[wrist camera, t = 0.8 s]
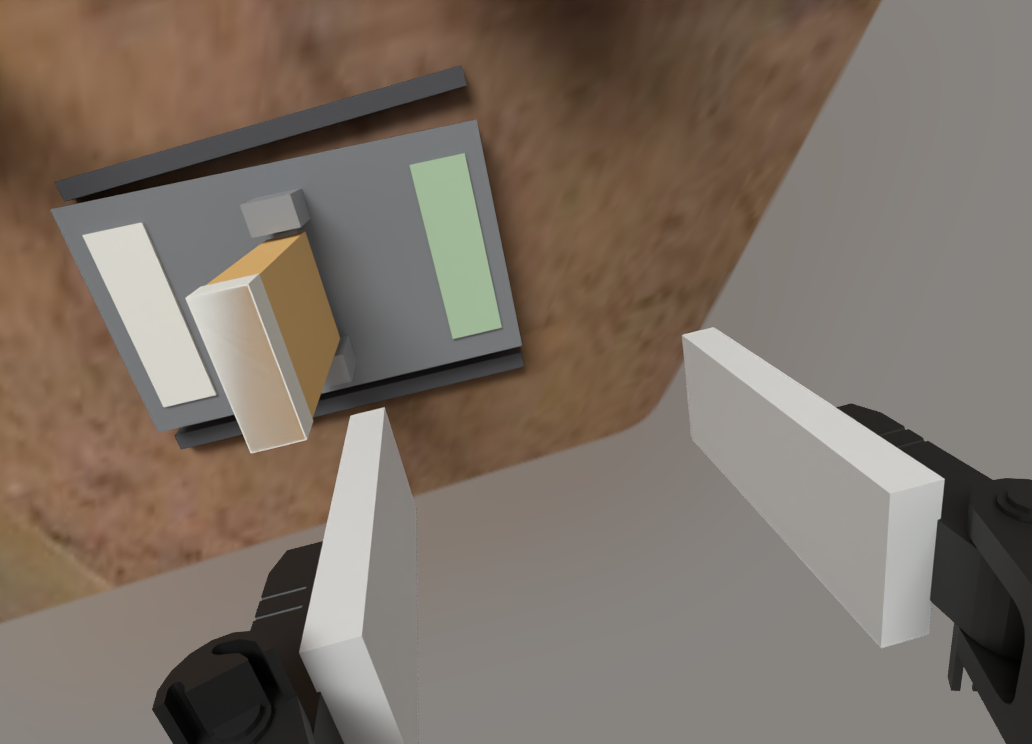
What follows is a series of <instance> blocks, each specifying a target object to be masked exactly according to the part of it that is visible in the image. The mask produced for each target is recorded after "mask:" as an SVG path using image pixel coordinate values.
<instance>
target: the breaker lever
mask: <svg viewBox="0 0 1032 744" xmlns="http://www.w3.org/2000/svg"><path fill="white" fill-rule="evenodd" d="M273 237H274V238H271V239H267V240H265V241H264V242H263V243H261V244H260V245H259V246H257V247H256V248H255V249H253V250H252V251H251V252H249V253H248V254H247V255H245V256H244V257H243V258H241V259H240V260H239V261H237V262H236V263H235V264H233V265H232V266H231V267H229V268H228V269H227V270H225V271H224V272H223V273H221V274H220V275H219V276H217V277H216V278H215V279H213V280H212V281H211V282H209V283H208V284H207V285H205V286H201V287H199V288H198V289H197V290H195V291H194V292H193V293H191V294H190V295H189V296H187V297H186V298H185V299H186V301H187V303H188V306H189V308H190V311H191V313H192V315H193V318H194V320H195V322H196V325H197V327H198V330H199V332H200V334H201V337H202V339H203V341H204V344H205V346H206V348H207V351H208V353H209V356H210V358H211V360H212V363H213V365H214V367H215V370H216V372H217V374H218V377H219V379H220V382H221V384H222V386H223V389H224V391H225V393H226V396H227V398H228V400H229V403H230V405H231V408H232V410H233V412H234V415H235V417H236V419H237V422H238V424H239V426H240V429H241V431H242V434H243V436H244V438H245V441H246V443H247V445H248V448H249V450H250V453H255V452H259V451H263V450H267V449H271V448H276V447H280V446H284V445H288V444H292V443H296V442H300V441H304V440H307V438H308V435H309V433H310V430H311V427H312V424H313V419H312V418H313V415H314V412H315V410H316V407H317V404H318V401H319V398H320V395H321V392H322V389H323V386H324V384H325V381H326V378H327V375H328V372H329V369H330V366H331V363H332V361H333V358H334V355H335V352H336V349H337V346H338V343H339V340H340V336H339V333H338V330H337V327H336V324H335V321H334V318H333V315H332V312H331V308H330V305H329V302H328V299H327V296H326V293H325V290H324V287H323V284H322V281H321V278H320V275H319V272H318V269H317V266H316V263H315V260H314V257H313V253H312V250H311V247H310V244H309V241H308V238H307V235H306V232H305V231H303V232H297V229H291V230H286V231H282V232H277V233H274V234H273Z"/></svg>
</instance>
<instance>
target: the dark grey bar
mask: <svg viewBox="0 0 1032 744" xmlns="http://www.w3.org/2000/svg"><path fill="white" fill-rule="evenodd" d="M465 86H467V84H466V80H465V76H464V72H463V69H462V65H460V66H457V67H453V68H450V69H446V70H443V71H440V72H436V73H433V74H429V75H426V76H422V77H419V78H415V79H412V80H408V81H405V82H401V83H398V84H394V85H391V86H387V87H384V88H380V89H377V90H373V91H370V92H366V93H363V94H359V95H356V96H352V97H349V98H345V99H342V100H338V101H335V102H332V103H328V104H325V105H321V106H318V107H314V108H311V109H307V110H304V111H300V112H297V113H293V114H290V115H286V116H283V117H279V118H276V119H272V120H269V121H265V122H262V123H258V124H255V125H251V126H248V127H244V128H241V129H237V130H234V131H231V132H227V133H224V134H220V135H217V136H213V137H210V138H206V139H203V140H199V141H196V142H192V143H189V144H185V145H182V146H178V147H175V148H171V149H168V150H164V151H161V152H157V153H154V154H150V155H147V156H143V157H140V158H136V159H133V160H130V161H126V162H123V163H119V164H116V165H112V166H109V167H105V168H102V169H98V170H95V171H91V172H88V173H84V174H81V175H77V176H74V177H70V178H67V179H63V180H60V181H56V182H54V183H55V185H56V187H57V188H58V190H59V192H60V194H61V196H62V197H63V199H64V201H69V200H74V199H77V198H81V197H84V196H88V195H91V194H95V193H98V192H102V191H105V190H108V189H112V188H115V187H119V186H122V185H126V184H129V183H133V182H136V181H140V180H143V179H147V178H150V177H154V176H157V175H160V174H164V173H167V172H171V171H174V170H178V169H181V168H185V167H188V166H192V165H195V164H199V163H202V162H205V161H209V160H212V159H216V158H219V157H223V156H226V155H230V154H233V153H237V152H240V151H244V150H247V149H250V148H254V147H257V146H261V145H264V144H268V143H271V142H275V141H278V140H282V139H285V138H289V137H292V136H296V135H299V134H302V133H306V132H309V131H313V130H316V129H320V128H323V127H327V126H330V125H334V124H337V123H341V122H344V121H347V120H351V119H354V118H358V117H361V116H365V115H368V114H372V113H375V112H379V111H382V110H386V109H389V108H392V107H396V106H399V105H403V104H406V103H410V102H413V101H417V100H420V99H424V98H427V97H431V96H434V95H437V94H441V93H444V92H448V91H451V90H455V89H458V88H462V87H465Z"/></svg>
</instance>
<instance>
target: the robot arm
mask: <svg viewBox="0 0 1032 744" xmlns="http://www.w3.org/2000/svg"><path fill="white" fill-rule="evenodd" d="M682 341H683V352H684V363H685V373H686V385H687V396H688V407H689V418H690V429H691V438H692V440H693V441H694V442H695V443H696V444H697V445H698V446H699V447H700V448H701V450H702V451H703V452H704V453H705V454H706V455H707V456H708V457H709V458H710V459H711V460H712V462H713V463H714V464H715V465H716V466H717V467H718V468H719V469H720V471H722V473H723V474H724V475H725V476H726V477H727V478H728V479H729V480H730V482H731V483H732V484H733V485H734V486H735V487H736V488H737V489H738V490H739V492H740V493H741V494H742V495H743V496H744V497H745V498H746V499H747V500H748V502H749V503H750V504H751V505H752V506H753V507H754V508H755V509H756V510H757V511H758V513H759V514H760V515H761V516H762V517H763V518H764V519H765V520H766V521H767V523H768V524H769V525H770V526H771V527H772V528H773V529H774V530H775V531H776V533H777V534H778V535H779V536H780V537H781V538H782V539H783V540H784V541H785V543H786V544H788V546H789V547H790V548H791V549H792V550H793V551H794V552H795V554H797V556H798V557H799V558H800V559H801V560H802V561H803V562H804V564H805V565H806V566H807V567H808V568H809V569H810V570H811V571H812V572H813V574H814V575H815V576H816V577H817V578H818V579H819V580H820V581H821V582H822V583H823V585H824V586H825V587H826V588H827V589H828V590H829V591H830V592H831V593H832V595H833V596H834V597H835V598H836V599H837V600H838V601H839V602H840V603H841V605H843V607H844V608H845V609H846V610H847V611H848V612H849V613H850V614H851V616H852V617H853V618H854V619H855V620H856V621H857V622H858V623H859V624H860V625H861V627H862V628H863V629H864V630H865V631H866V632H867V633H868V634H869V635H870V637H871V638H872V639H873V640H874V641H875V642H876V643H877V644H878V645H879V647H880V648H883V647H887V646H890V645H893V644H897V643H901V642H904V641H908V640H911V639H915V638H918V637H922V636H925V635H928V634H929V629H930V619H931V609H932V603H933V604H934V605H936V606H937V607H938V608H939V609H940V610H941V611H942V612H943V613H945V615H947V616H948V617H949V618H950V619H951V620H952V621H953V622H954V629H953V637H952V645H951V653H950V662H949V670H948V680H949V684H950V687H951V690H954V691H960V688H961V680H962V673H963V667H964V668H965V669H966V671H967V673H968V675H969V677H970V679H971V681H972V682H973V685H972V690H973V691H978V693H979V695H980V697H981V699H982V701H983V702H984V704H985V706H986V708H987V710H988V712H989V713H990V715H991V717H992V719H993V721H994V723H995V724H996V726H997V728H998V730H999V732H1000V734H1001V735H1002V737H1003V739H1004V741H1005V743H1006V744H1032V480H1029V479H1011V478H1004V479H997V480H992V479H990V478H989V477H987V476H985V475H984V474H982V473H980V472H979V471H977V470H975V469H974V468H972V467H970V466H969V465H967V464H965V463H964V462H962V461H960V460H959V459H957V458H955V457H954V456H952V455H951V454H949V453H947V452H946V451H944V450H942V449H940V448H939V447H937V446H936V445H934V444H932V443H930V442H929V441H926V442H925V441H924V440H923V438H922V437H921V436H919V435H917V434H916V433H914V432H912V431H911V430H909V429H908V430H905V428H904V426H903V425H901V424H899V423H897V422H896V421H894V420H893V419H891V418H889V417H888V416H886V415H884V414H883V413H881V412H877V411H874V410H871V409H867V408H864V407H861V406H857V405H854V404H848V405H844V406H840V407H834V406H833V405H831V404H830V403H828V402H827V401H825V400H824V399H822V398H821V397H819V396H817V395H816V394H814V393H813V392H811V391H810V390H808V389H807V388H805V387H804V386H802V385H801V384H799V383H798V382H796V381H795V380H793V379H792V378H790V377H789V376H787V375H785V374H784V373H782V372H781V371H779V370H778V369H776V368H775V367H773V366H772V365H770V364H769V363H767V362H766V361H764V360H762V359H761V358H760V357H758V356H757V355H755V354H754V353H752V352H750V351H749V350H747V349H746V348H744V347H743V346H741V345H740V344H738V343H737V342H735V341H734V340H732V339H731V338H729V337H728V336H726V335H724V334H723V333H722V332H720V331H719V330H717V329H715V328H709V329H705V330H700V331H696V332H692V333H688V334H684V335H682ZM416 523H417V522H416V506H415V503H414V500H413V496H412V493H411V490H410V487H409V483H408V480H407V477H406V474H405V471H404V467H403V464H402V461H401V458H400V455H399V451H398V448H397V445H396V442H395V439H394V435H393V432H392V429H391V426H390V423H389V419H388V416H387V413H386V410H385V407H384V408H379V409H375V410H371V411H367V412H363V413H359V414H355V415H351V416H350V420H349V425H348V429H347V434H346V438H345V443H344V448H343V452H342V457H341V461H340V466H339V471H338V475H337V480H336V485H335V489H334V494H333V498H332V503H331V508H330V512H329V517H328V521H327V526H326V531H325V535H324V540H323V541H322V542H318V543H315V544H310V545H307V546H303V547H299V548H295V549H291V550H287V551H286V553H285V554H284V555H283V556H282V558H281V559H280V560H279V561H278V563H277V564H276V565H275V566H274V568H273V569H272V570H271V571H270V573H269V575H268V578H267V581H266V584H265V587H264V590H263V593H262V596H261V597H262V601H260V603H259V606H258V609H257V612H256V615H255V618H256V621H253V624H252V627H251V630H250V631H246V632H235V633H231V634H228V635H225V636H223V637H220V638H218V639H214V640H212V641H210V642H208V643H207V644H205V645H204V646H202V647H200V648H199V649H197V650H195V651H194V652H192V653H191V654H189V655H188V656H187V657H186V658H185V659H184V660H183V661H182V662H181V663H179V665H177V666H176V667H175V668H174V669H173V670H172V671H171V672H170V674H169V675H168V676H167V678H166V679H165V681H164V682H163V684H162V685H161V687H160V688H159V689H158V691H157V694H156V698H155V701H154V705H153V708H152V710H153V712H154V713H155V715H156V716H157V718H158V720H159V721H160V723H161V725H162V726H163V728H164V730H165V731H166V733H167V734H168V736H169V738H170V739H171V741H172V743H173V744H419V727H418V726H419V722H418V721H419V719H418V620H417V526H416V525H417V524H416Z"/></svg>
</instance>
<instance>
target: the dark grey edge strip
mask: <svg viewBox="0 0 1032 744" xmlns="http://www.w3.org/2000/svg"><path fill="white" fill-rule="evenodd" d="M520 367H524V363H523V359H522V354H521V351H520V349H519V347H518V348H514V349H509V350H505V351H501V352H497V353H493V354H489V355H484V356H480V357H476V358H472V359H468V360H463V361H459V362H455V363H451V364H447V365H442V366H438V367H434V368H430V369H426V370H422V371H417V372H413V373H409V374H405V375H401V376H396V377H392V378H388V379H384V380H380V381H376V382H371V383H367V384H363V385H359V386H355V387H350V388H346V389H342V390H338V391H334V392H330V393H325V394H321V395H320V398H319V401H318V404H317V407H316V410H315V412H314V415H313V417H317V416H321V415H325V414H330V413H334V412H338V411H342V410H346V409H350V408H354V407H359V406H363V405H367V404H371V403H375V402H379V401H383V400H388V399H392V398H396V397H400V396H404V395H408V394H412V393H417V392H421V391H425V390H429V389H433V388H437V387H441V386H446V385H450V384H454V383H458V382H462V381H466V380H470V379H475V378H479V377H483V376H487V375H491V374H495V373H499V372H504V371H508V370H512V369H516V368H520ZM239 435H243V434H242V431H241V429H240V426H239V424H238V422H237V419H236V417H235V415H233V416H229V417H225V418H221V419H217V420H212V421H208V422H204V423H200V424H196V425H192V426H187V427H183V428H180V429H179V430H178V432H177V433H176V434H175V435H174V436H175V438H176V440H177V442H178V444H179V446H180V449H185V448H189V447H193V446H197V445H201V444H205V443H210V442H214V441H218V440H222V439H226V438H230V437H234V436H239Z"/></svg>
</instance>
